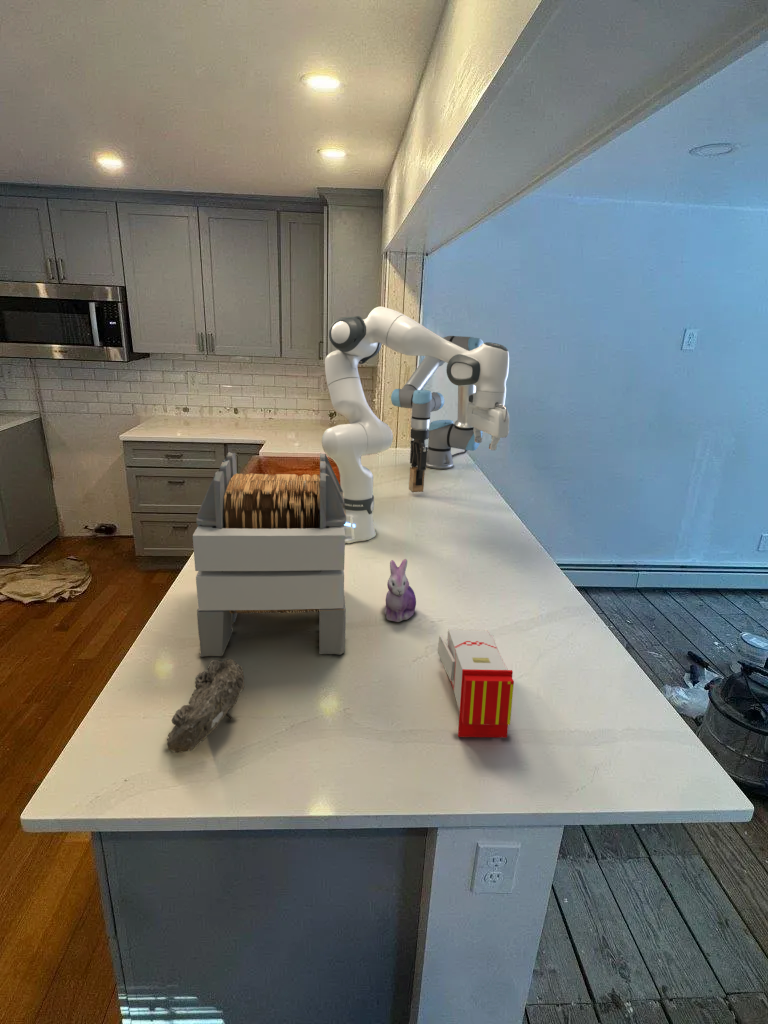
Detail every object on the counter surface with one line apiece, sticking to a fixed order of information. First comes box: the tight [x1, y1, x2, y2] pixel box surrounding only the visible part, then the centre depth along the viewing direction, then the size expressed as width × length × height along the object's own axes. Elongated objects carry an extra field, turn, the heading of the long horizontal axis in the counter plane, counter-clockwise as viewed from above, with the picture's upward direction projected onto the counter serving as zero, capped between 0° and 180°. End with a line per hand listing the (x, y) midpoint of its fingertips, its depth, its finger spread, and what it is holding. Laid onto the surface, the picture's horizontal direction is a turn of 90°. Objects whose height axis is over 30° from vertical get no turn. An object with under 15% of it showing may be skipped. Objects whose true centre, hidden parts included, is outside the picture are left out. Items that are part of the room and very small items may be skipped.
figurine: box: [384, 558, 417, 623], centre depth 145 cm, size 9×10×15 cm
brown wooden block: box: [408, 466, 426, 493], centre depth 239 cm, size 5×5×10 cm
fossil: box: [166, 658, 245, 754], centre depth 106 cm, size 22×10×15 cm
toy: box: [437, 628, 515, 738], centre depth 117 cm, size 12×13×30 cm
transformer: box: [192, 452, 347, 658], centre depth 136 cm, size 34×33×41 cm
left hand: (484, 446), depth 172 cm, fingers open, 8 cm apart
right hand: (416, 483), depth 240 cm, fingers closed on brown wooden block, 5 cm apart
